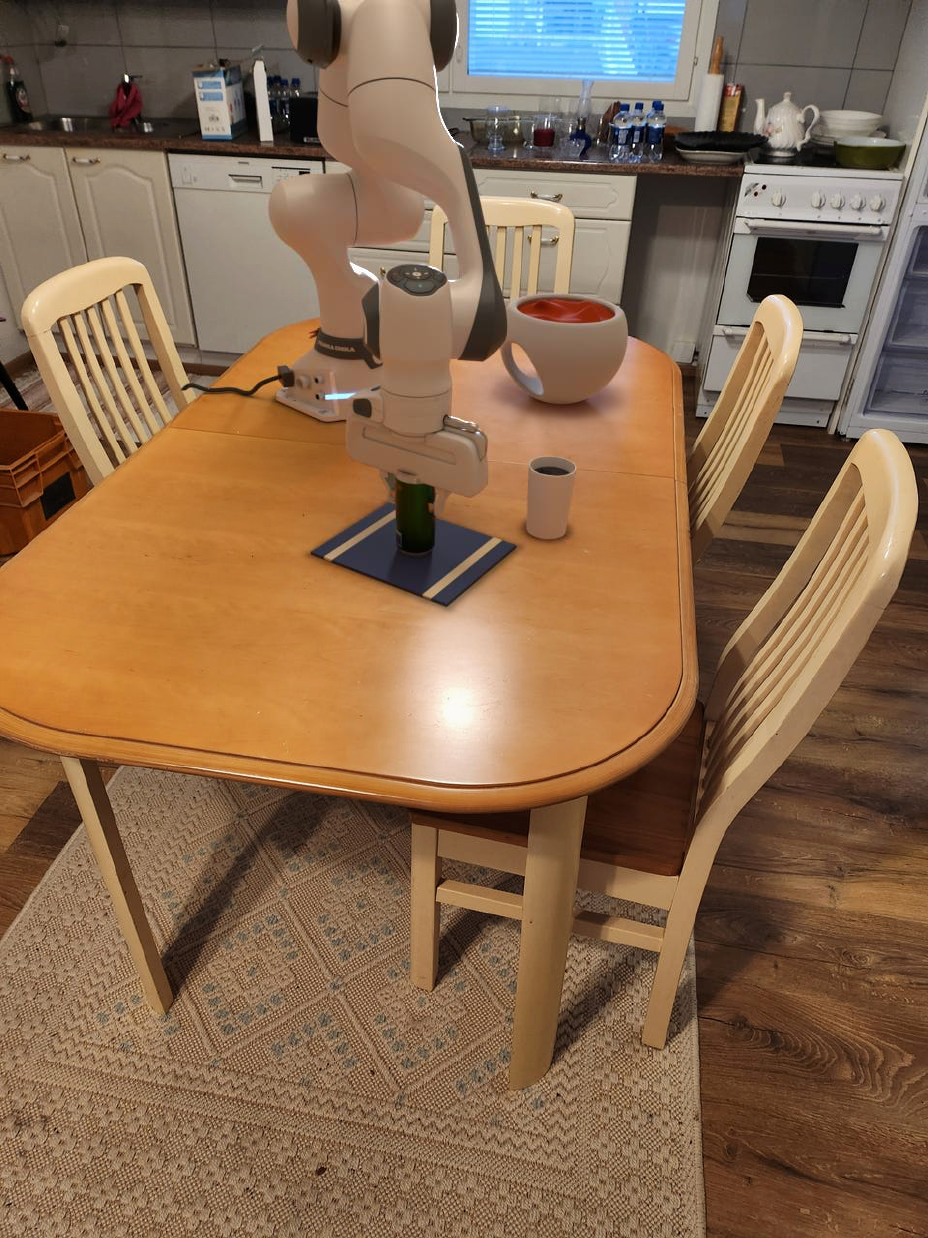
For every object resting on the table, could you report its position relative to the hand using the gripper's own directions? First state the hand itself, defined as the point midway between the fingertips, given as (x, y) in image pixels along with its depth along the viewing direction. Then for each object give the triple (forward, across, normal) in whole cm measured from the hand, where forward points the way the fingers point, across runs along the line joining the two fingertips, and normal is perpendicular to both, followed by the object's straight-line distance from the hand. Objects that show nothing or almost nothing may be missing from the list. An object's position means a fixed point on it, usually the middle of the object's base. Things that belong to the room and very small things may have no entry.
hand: (415, 506), depth 115 cm
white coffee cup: (+7, -12, -16) cm, 21 cm away
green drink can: (+6, 0, 0) cm, 7 cm away
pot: (+7, +11, -65) cm, 66 cm away
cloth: (+7, 0, 0) cm, 7 cm away
